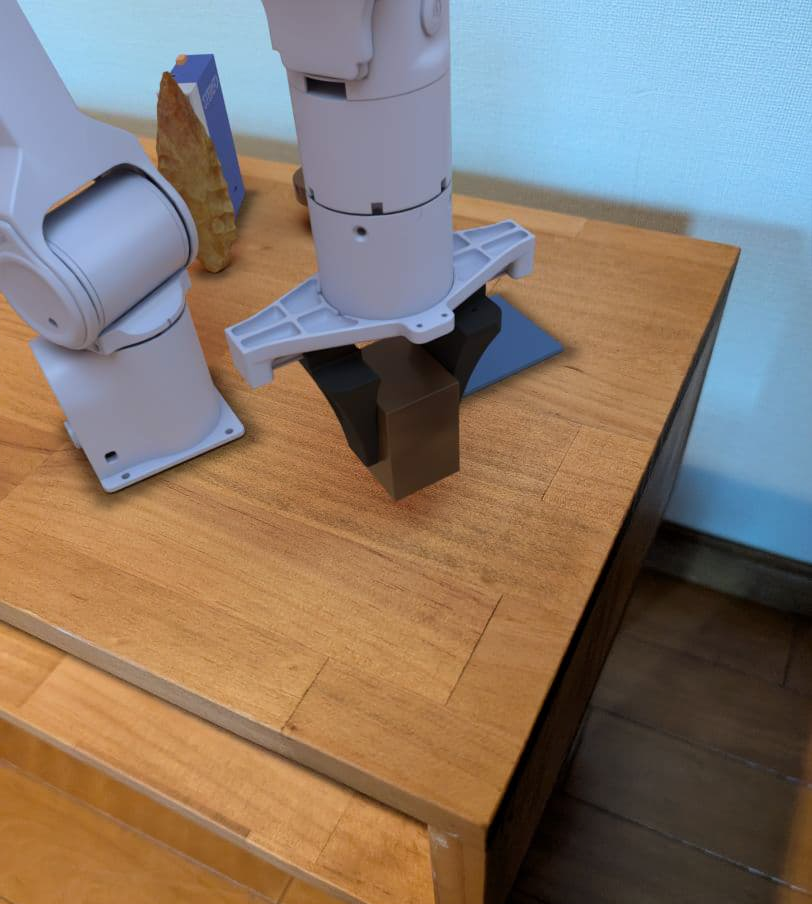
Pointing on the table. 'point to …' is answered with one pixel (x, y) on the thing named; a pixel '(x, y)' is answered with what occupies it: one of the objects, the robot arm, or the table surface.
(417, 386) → the block
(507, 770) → the table surface
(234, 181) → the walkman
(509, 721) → the table surface
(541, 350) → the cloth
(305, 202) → the mushroom
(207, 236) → the stone tool
